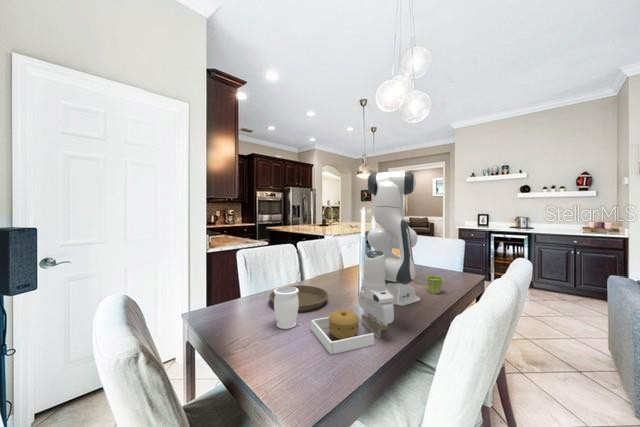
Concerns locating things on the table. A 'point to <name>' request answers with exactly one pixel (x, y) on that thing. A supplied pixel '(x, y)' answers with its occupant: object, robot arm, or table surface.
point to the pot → (343, 324)
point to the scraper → (373, 325)
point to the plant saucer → (307, 297)
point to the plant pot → (434, 284)
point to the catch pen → (342, 344)
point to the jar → (286, 306)
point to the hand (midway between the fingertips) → (374, 325)
